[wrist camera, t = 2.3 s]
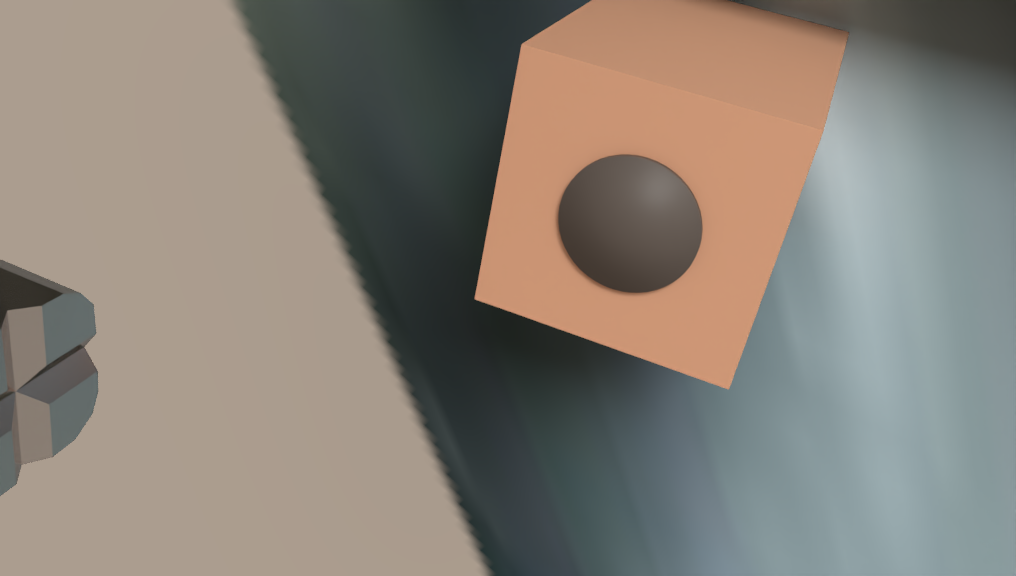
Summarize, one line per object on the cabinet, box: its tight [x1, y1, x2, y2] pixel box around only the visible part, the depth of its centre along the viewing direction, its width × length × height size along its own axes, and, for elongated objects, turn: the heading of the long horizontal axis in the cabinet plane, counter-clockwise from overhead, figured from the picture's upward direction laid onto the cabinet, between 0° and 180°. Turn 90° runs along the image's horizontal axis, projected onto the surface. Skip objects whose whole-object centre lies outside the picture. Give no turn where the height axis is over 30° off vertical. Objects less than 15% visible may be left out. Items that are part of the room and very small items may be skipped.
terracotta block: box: [475, 0, 849, 389], centre depth 16 cm, size 4×4×6 cm
